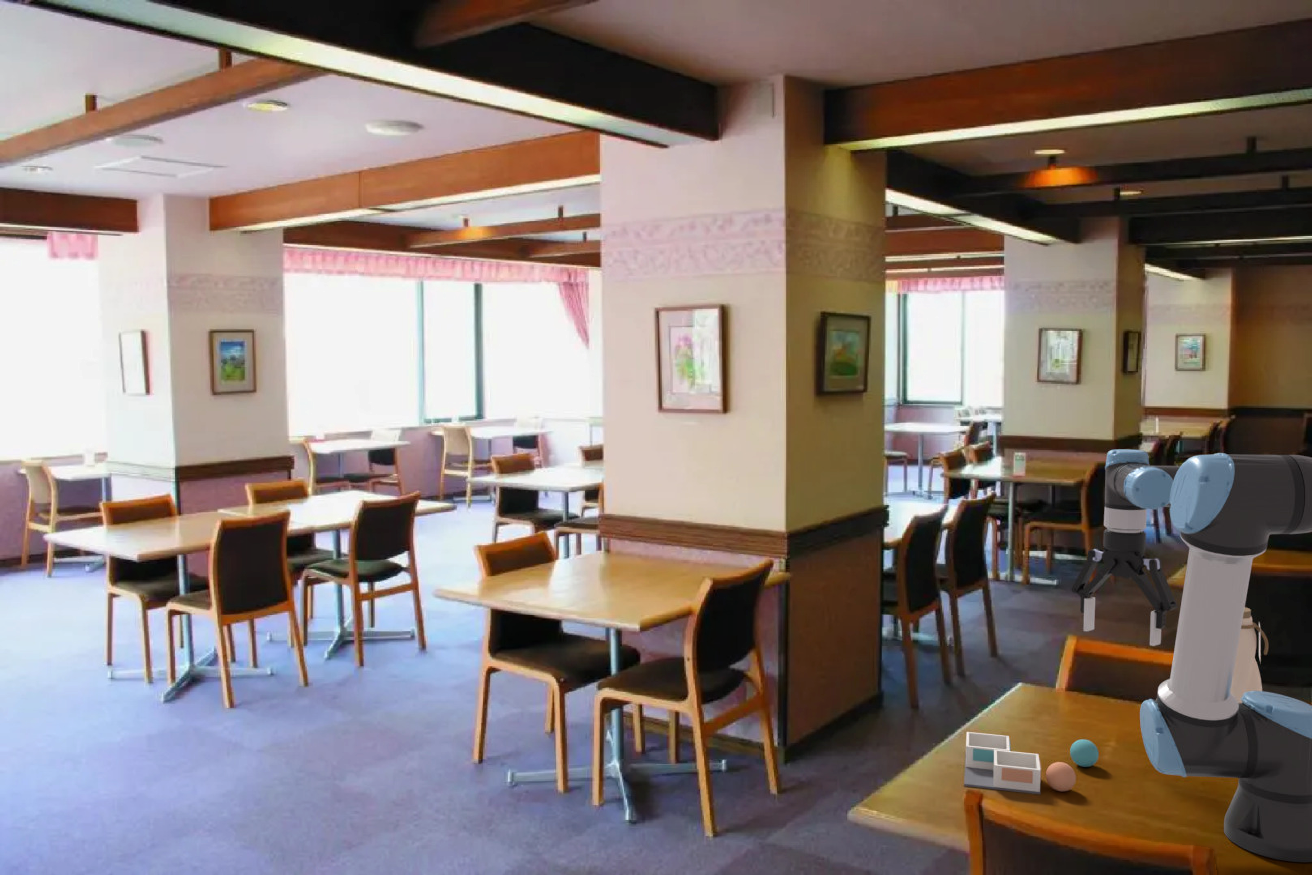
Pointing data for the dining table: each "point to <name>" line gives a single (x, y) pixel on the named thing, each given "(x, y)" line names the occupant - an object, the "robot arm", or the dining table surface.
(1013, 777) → the white square box
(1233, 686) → the water bottle
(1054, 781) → the ball terracotta
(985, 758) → the white square bin
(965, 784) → the mat
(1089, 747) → the ball teal
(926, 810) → the dining table surface
